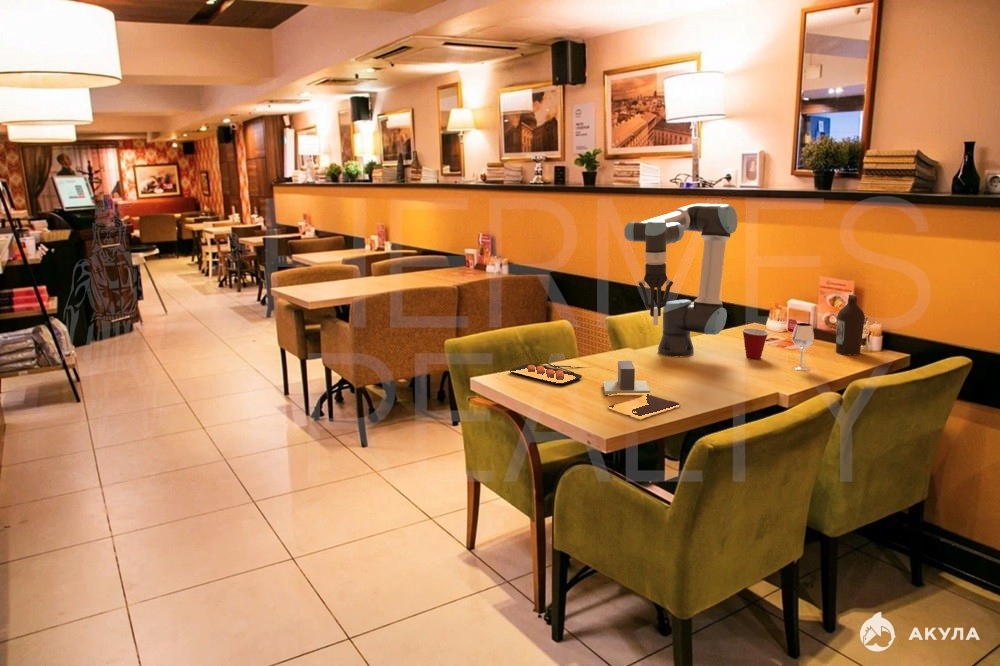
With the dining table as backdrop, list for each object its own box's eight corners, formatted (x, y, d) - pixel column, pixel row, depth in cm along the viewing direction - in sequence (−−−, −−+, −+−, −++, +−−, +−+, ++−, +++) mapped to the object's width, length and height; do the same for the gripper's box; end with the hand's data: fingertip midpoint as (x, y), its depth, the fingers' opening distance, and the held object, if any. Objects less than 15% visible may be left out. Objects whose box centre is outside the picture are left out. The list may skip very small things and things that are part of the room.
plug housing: (617, 381, 270) (618, 360, 268) (631, 381, 270) (631, 360, 268) (620, 390, 260) (620, 369, 258) (634, 390, 259) (634, 368, 257)
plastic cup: (771, 361, 297) (773, 333, 294) (745, 361, 297) (746, 333, 294) (762, 354, 307) (764, 327, 305) (737, 354, 308) (738, 327, 305)
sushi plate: (506, 374, 291) (506, 365, 290) (554, 359, 312) (554, 350, 311) (561, 389, 271) (561, 379, 270) (609, 371, 292) (609, 362, 291)
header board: (602, 386, 271) (603, 372, 270) (645, 385, 270) (645, 371, 269) (605, 396, 260) (605, 381, 258) (649, 395, 258) (650, 381, 257)
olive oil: (855, 349, 311) (860, 292, 305) (866, 355, 300) (871, 297, 295) (830, 349, 311) (834, 293, 305) (840, 356, 301) (845, 297, 295)
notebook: (607, 410, 247) (607, 404, 246) (646, 398, 258) (646, 392, 258) (640, 421, 235) (640, 416, 234) (679, 408, 246) (679, 403, 246)
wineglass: (805, 372, 280) (808, 327, 276) (785, 368, 286) (788, 324, 282) (815, 368, 285) (819, 324, 281) (796, 364, 291) (799, 321, 287)
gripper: (639, 265, 262) (639, 327, 268) (675, 263, 260) (674, 326, 266) (636, 261, 269) (636, 322, 275) (671, 260, 268) (671, 321, 274)
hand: (655, 324), depth 271 cm, fingers closed
